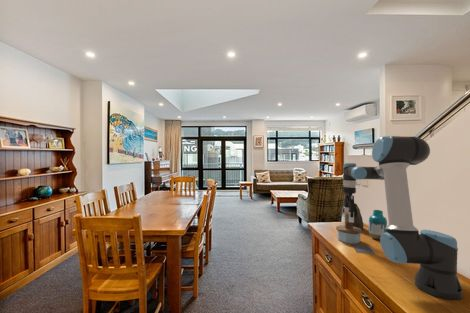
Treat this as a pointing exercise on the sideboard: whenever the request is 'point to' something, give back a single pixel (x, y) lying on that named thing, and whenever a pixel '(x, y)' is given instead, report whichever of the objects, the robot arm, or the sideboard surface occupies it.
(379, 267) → the sideboard surface
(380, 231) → the vase
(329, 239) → the sideboard surface
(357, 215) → the owl
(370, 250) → the mat
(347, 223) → the lid
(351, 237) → the bowl
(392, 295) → the sideboard surface
